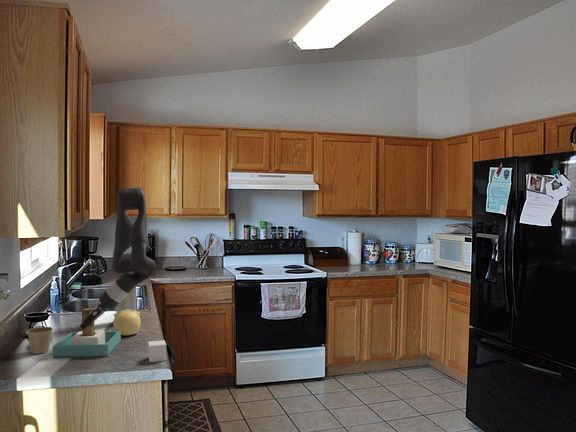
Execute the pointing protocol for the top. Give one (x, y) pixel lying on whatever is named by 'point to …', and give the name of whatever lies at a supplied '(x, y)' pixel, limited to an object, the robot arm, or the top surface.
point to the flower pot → (39, 339)
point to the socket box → (87, 344)
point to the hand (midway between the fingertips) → (83, 326)
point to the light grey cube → (157, 351)
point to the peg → (90, 328)
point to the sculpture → (127, 322)
